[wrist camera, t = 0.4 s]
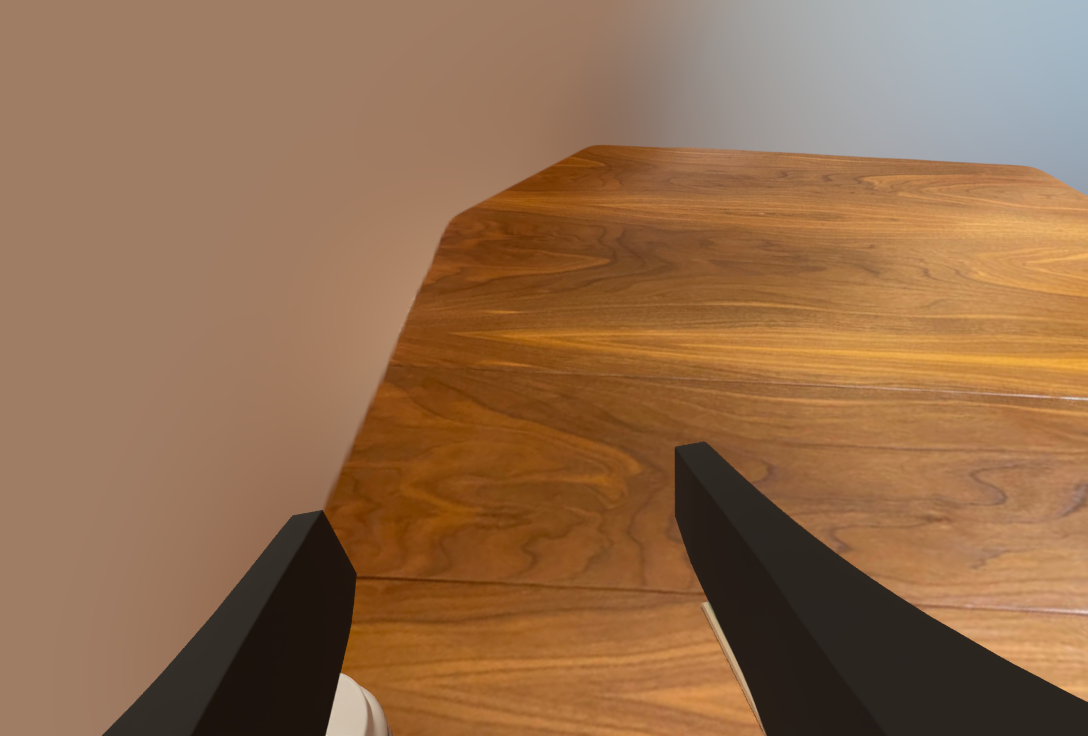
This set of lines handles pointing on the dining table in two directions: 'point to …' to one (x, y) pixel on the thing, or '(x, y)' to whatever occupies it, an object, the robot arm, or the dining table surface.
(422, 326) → the dining table surface
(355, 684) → the pill bottle
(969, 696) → the robot arm
